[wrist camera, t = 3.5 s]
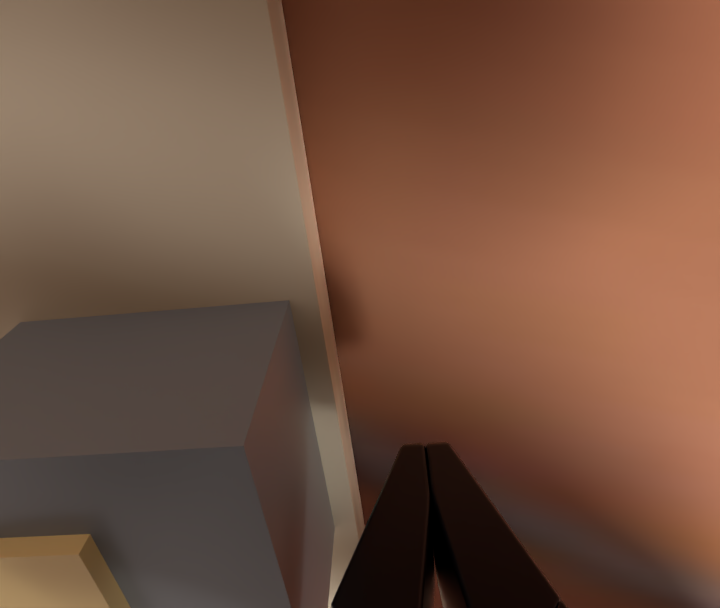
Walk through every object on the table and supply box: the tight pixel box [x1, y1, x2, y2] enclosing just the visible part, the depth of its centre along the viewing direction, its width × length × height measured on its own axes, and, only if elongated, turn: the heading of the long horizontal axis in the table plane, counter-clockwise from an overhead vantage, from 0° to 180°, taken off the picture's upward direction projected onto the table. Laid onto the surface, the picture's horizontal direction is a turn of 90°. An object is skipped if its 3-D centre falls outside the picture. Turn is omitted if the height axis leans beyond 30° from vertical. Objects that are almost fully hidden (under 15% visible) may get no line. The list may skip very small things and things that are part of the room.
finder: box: [0, 300, 335, 608], centre depth 9 cm, size 6×5×4 cm
